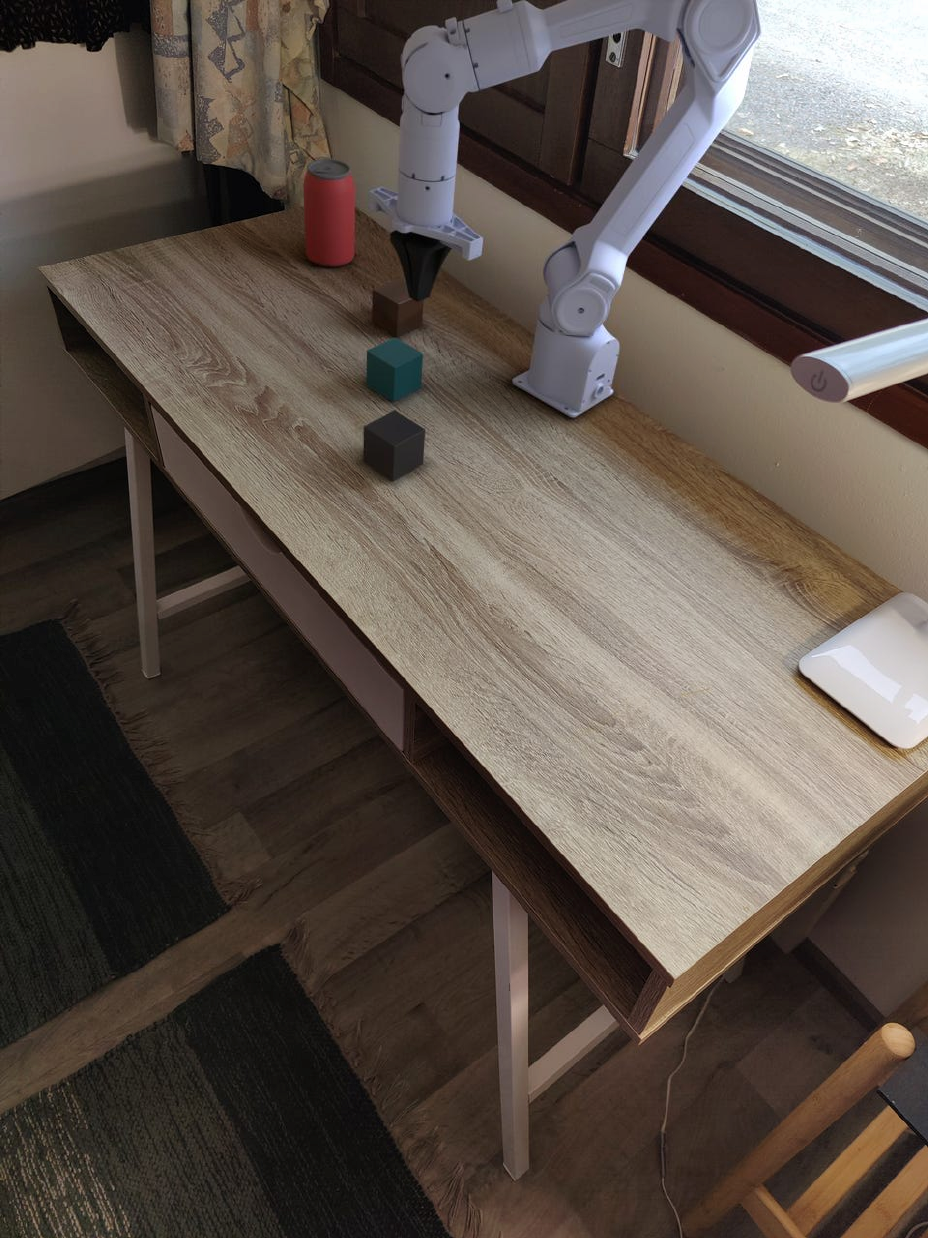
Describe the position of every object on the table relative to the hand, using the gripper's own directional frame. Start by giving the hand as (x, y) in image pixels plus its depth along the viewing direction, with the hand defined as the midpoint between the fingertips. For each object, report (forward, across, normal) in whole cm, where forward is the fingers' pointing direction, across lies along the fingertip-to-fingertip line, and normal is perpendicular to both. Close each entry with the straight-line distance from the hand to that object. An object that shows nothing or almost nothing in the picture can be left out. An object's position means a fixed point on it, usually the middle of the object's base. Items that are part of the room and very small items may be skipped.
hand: (419, 296), depth 104 cm
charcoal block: (+10, +10, -13) cm, 19 cm away
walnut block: (+10, -10, +7) cm, 16 cm away
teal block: (+10, 0, -3) cm, 11 cm away
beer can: (+11, -28, +12) cm, 32 cm away
